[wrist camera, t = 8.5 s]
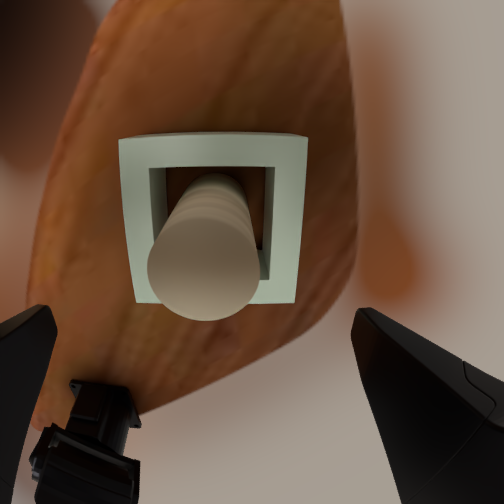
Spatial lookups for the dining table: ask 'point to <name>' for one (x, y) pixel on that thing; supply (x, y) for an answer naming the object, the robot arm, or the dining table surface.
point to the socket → (217, 154)
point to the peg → (206, 252)
